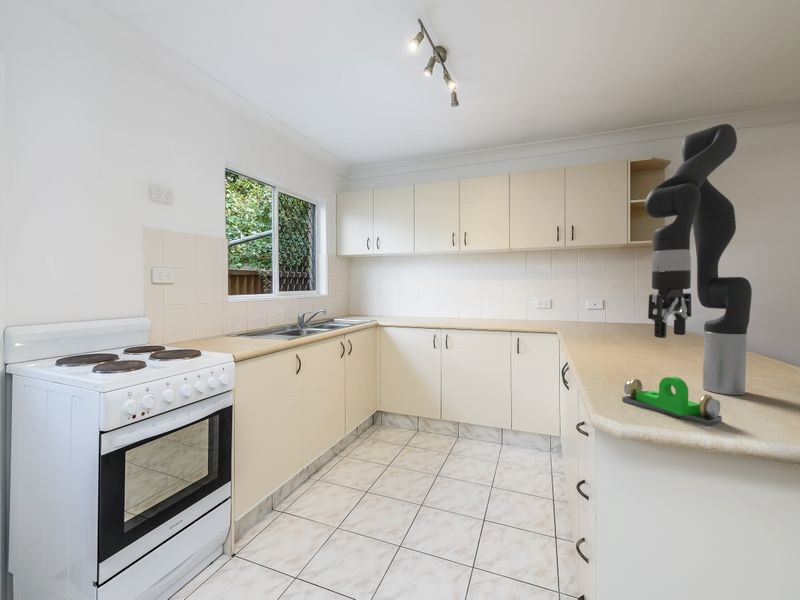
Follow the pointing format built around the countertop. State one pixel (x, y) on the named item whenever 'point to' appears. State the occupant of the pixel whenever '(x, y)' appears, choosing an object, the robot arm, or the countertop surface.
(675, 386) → the mechanical part
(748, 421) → the countertop surface
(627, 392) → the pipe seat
